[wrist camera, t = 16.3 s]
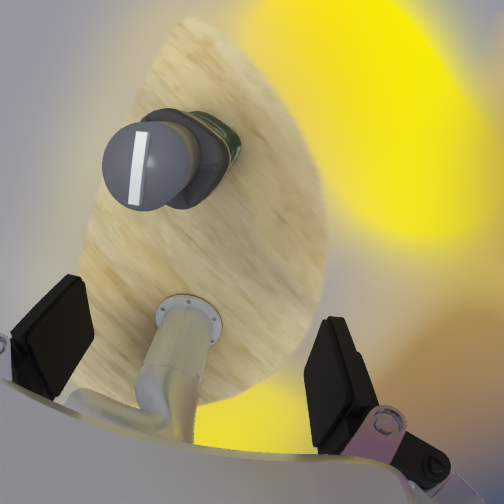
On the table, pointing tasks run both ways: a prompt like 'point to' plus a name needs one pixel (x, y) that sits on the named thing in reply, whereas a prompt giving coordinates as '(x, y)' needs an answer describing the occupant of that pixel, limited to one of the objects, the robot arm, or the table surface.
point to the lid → (150, 163)
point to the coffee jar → (202, 152)
